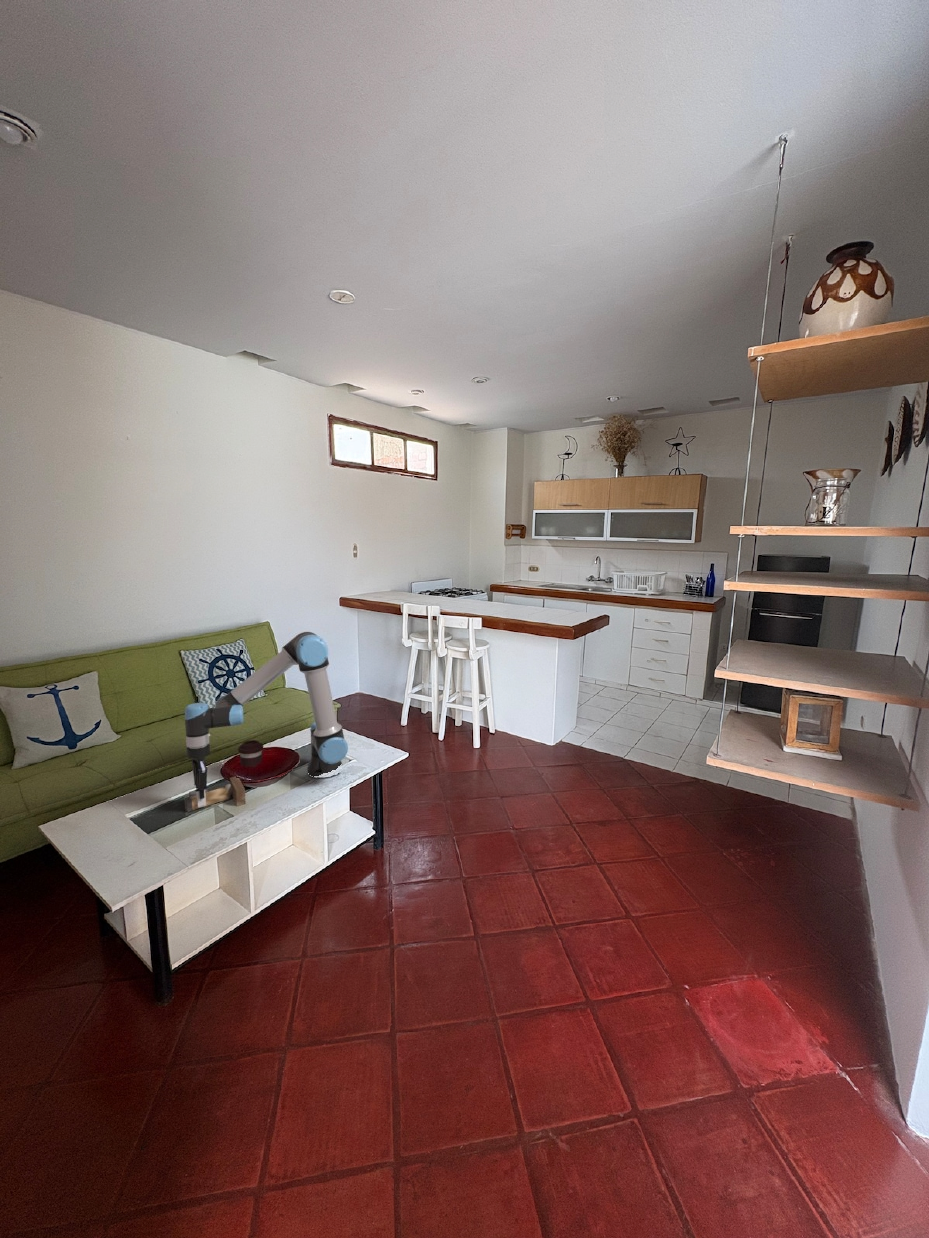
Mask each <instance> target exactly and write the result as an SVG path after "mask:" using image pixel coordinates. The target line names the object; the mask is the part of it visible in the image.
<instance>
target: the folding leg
mask: <svg viewBox="0 0 929 1238" xmlns="http://www.w3.org/2000/svg"><path fill="white" fill-rule="evenodd" d="M205 795H206V805H205V806H202V807H197V795H195V796H192V797H189V796H188V797H185V798H184V809H185V810H186V812H187V813H188V812H189V813H190V812H192V811H195V810H198V809H200V808H201V809H202V808H204V807H207V806H211V805H214V804H216V803H217V804H218V803H219V802H223V801H226V800H229V799H230V798H232V794H231V784H230V783H227V784H225V786H223V787H219V788H217V789H214V790H213V789H212V790H209V791H208V792H205Z"/></svg>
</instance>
